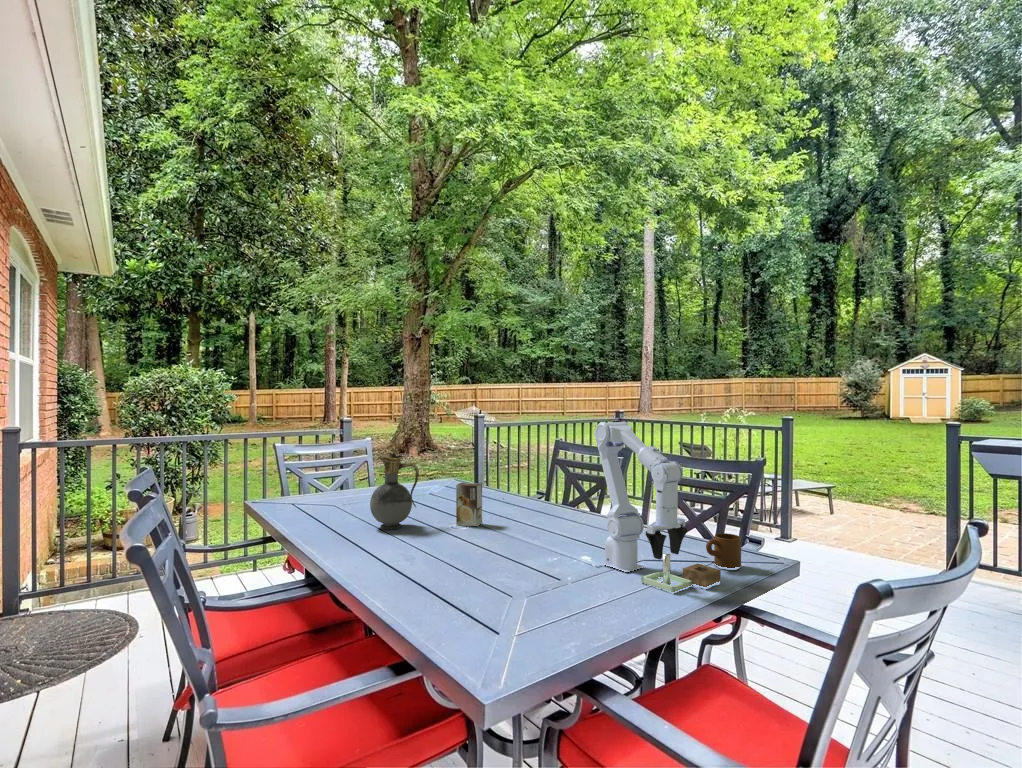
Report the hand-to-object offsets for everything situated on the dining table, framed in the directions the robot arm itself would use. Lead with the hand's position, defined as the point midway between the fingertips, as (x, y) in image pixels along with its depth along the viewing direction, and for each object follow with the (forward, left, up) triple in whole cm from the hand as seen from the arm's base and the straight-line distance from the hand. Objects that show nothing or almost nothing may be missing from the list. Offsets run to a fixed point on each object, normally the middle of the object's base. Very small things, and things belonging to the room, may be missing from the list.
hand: (666, 556), depth 155 cm
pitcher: (-104, -29, -8) cm, 108 cm away
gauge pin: (0, 0, -8) cm, 8 cm away
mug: (+1, +26, -8) cm, 27 cm away
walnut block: (+5, +9, -8) cm, 13 cm away
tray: (0, 0, -8) cm, 8 cm away
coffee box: (-90, -4, -8) cm, 90 cm away
